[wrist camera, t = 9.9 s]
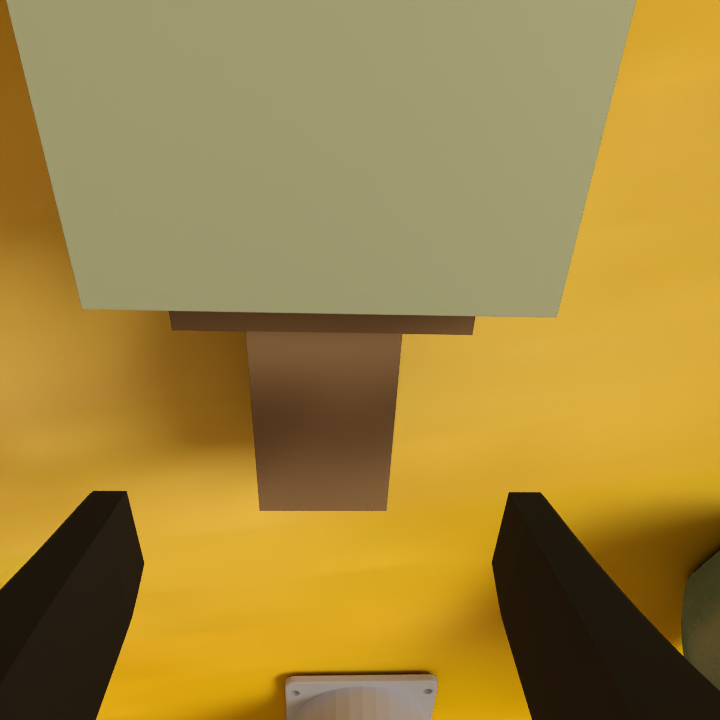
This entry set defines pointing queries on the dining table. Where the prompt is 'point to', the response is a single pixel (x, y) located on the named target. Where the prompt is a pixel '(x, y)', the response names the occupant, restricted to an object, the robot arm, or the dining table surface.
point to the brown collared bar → (323, 400)
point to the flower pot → (703, 620)
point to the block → (321, 149)
